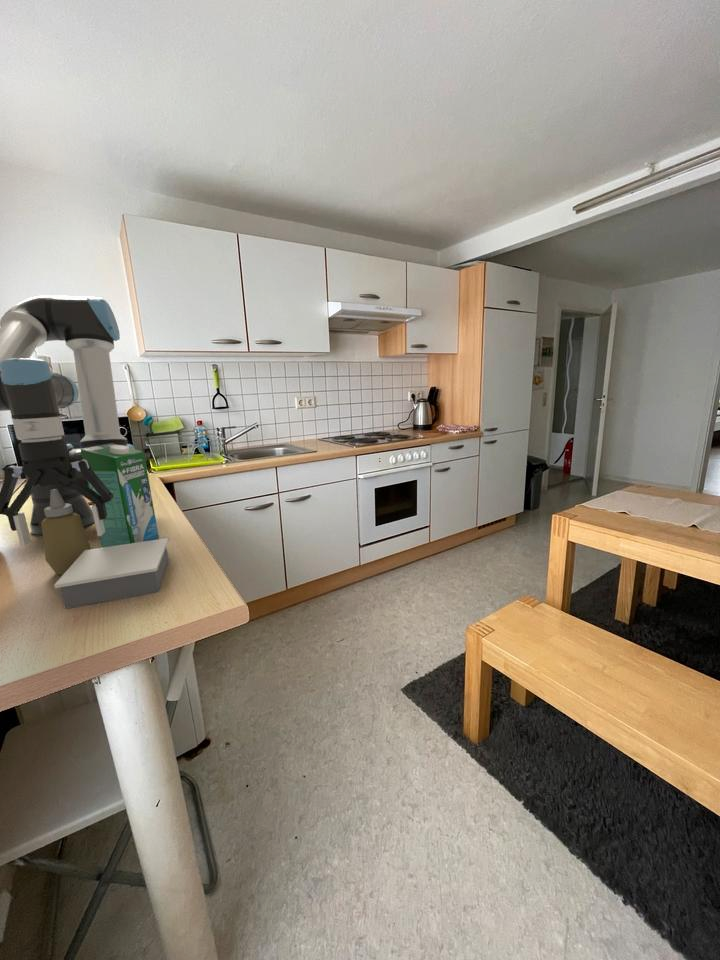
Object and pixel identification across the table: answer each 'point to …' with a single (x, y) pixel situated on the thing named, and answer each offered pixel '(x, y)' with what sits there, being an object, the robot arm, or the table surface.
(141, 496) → the milk carton
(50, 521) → the squeeze bottle
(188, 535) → the table surface
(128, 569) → the display podium
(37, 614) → the table surface
